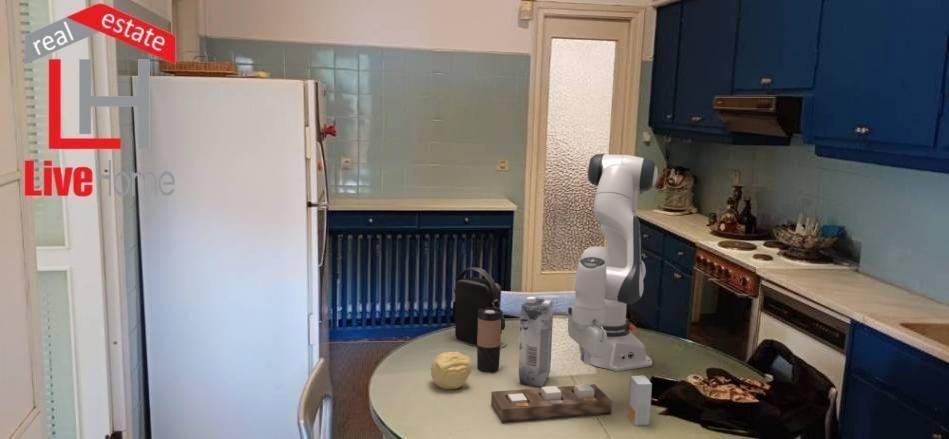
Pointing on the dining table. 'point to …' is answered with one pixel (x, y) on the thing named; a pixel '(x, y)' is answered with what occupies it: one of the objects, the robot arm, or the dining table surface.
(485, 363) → the travel mug
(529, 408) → the button board
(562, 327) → the dining table surface
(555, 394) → the button middle
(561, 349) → the dining table surface
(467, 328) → the shoulder bag
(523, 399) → the button
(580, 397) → the button
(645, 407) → the skincare box
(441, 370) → the sculpture
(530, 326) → the juice carton
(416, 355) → the dining table surface
